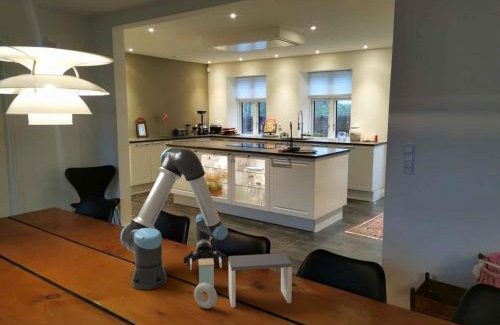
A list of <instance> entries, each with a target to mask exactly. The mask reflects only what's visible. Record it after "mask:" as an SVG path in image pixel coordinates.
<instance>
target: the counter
mask: <svg viewBox="0 0 500 325" xmlns="http://www.w3.org/2000/svg"><path fill="white" fill-rule="evenodd" d="M279 268H280V269H281V270H280V291H281V293H282V296H283V298H284V299H285V301H286V303H287V304H291V303H292V287H293V285H292V284H293V283H292V282H293V281H292V280H293V278H292V277H293V275H292V274H293V262H292V260H290V258H289V257H288V255H287V254H286V253H285V252H283V253H282V252H281V253H280V252H279V253H263V254H246V255H230V256H229V255H228V298H229V303H230V305H231V306H230V307H231V308H236V271H248V270H249V271H250V270H252V271H253V270H265V269H267V270H268V269H279Z"/></svg>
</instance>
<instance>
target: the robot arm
mask: <svg viewBox="0 0 500 325" xmlns="http://www.w3.org/2000/svg"><path fill="white" fill-rule="evenodd" d="M158 170H159V174H158V176H157V178H156V180H155V181H154V184H153V186H152V188H151V190H150V192H149V193H148V195H147V197H146V199H145V201H144V203H143V205H142V207H141V209H140V211H139V213H138V214H137V216H136V217H134V218H132V219H131V222H130V223H129V224H127V225H125V226H124V228H122V230H121V233H120V242H121V244H122V245H123V247H124V248H125V249H126V250H128V251H130V253H132V254H133V255H134V261H135V262H134V265H135V266H134V267H135V268H134V270H133V274H132V277H131V286H132V287H133V288H135V289H137V290H143V291H145V290H146V291H147V290H154V289H158V288H160V287H163V286H164V285H165V284H166V283H167V281H168V280H167V278H168V277H167V273H166V270H165V267H164V265H163V238H162V233H161V231H159V230H158V229H156V227H155V222H156V221H157V219H158V217H159V215H160V213H161V211H162V209H163V206H164V205H165V203H166V201H167V199H168V196H169V195H170V193H171V190H172V189H173V187H174V185H175V183H176V181H177V180H180V179H181V178H182V176H184V178H185V181H186V182H188V183H189V185H190V188H191V190H192V193H193V195H194V197H195V200H196V204H197V206H198V207H199V208H198V209H199V210H200V212H201V213H198V214H197V215H196V216H195V217H196V218H195V233H196V234H195V238H196V239H195V245H196V251H193V250H190V253H188V254H187V255H185V256H184V257H183V264H187V266H189V269H190V271H192V270H193V269H192V268H193V265H192V264H193V263H194V262H196V261H198V259H210V258H213V260H215V261H218V263H219V268H220V269H222V268H223V264H224V263H225V262H227V255H226V253H225V254H224V253H223V252H221V251H219V249H215V251H213V250H212V243H211V238H213V239H215V240H219V241H222V240H224V239H226V237H227V236H228V232H229V231H228V228H227V226H226V225H224V224H223V223H222V221H221V218H220V216H219V213H218V211H217V207H216V205H215V202H214V200H213V197H212V194H211V192H210V189H209V187H208V184H207V181H206V178H205V176H206V172H205V170H204V167H203V164H202V162H201V159H199V157H198V156H197V154H196V153H195V152H194V151H193V150H191V149H189V148H180V147H177V146H173V147H169V148H166V149H165V150H164V151H162V153H161V155H160V165H159V166H158Z"/></svg>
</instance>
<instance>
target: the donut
mask: <svg viewBox="0 0 500 325" xmlns="http://www.w3.org/2000/svg"><path fill="white" fill-rule="evenodd" d="M204 293H206V294H207V299H206V298H205V296H204ZM193 295H194V299H195V302H196V303H197V305H199V307H200V308H203V309H208V310H209V309H211V308H213V307H214V306H215V305H216V303H217V301H218V294H217V291H216V289H215V288H213V286H211V285H210V284H208V283H201V284H199V283H198V285H196V286H195V288H194V291H193Z"/></svg>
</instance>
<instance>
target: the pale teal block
mask: <svg viewBox="0 0 500 325" xmlns="http://www.w3.org/2000/svg"><path fill="white" fill-rule="evenodd" d="M214 260H215V259H213V258H210V259H209V258H206V259H198V260H197V261H198V279H199V280H198V285H199V284H201V283H208V284H210V285H211V286H213V288H214V287H215V285H214V284H215V283H214V281H215V280H214V279H215V276H214V275H215V274H214V271H215V270H214V269H215V268H214V267H215V262H214ZM214 289H215V288H214Z"/></svg>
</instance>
